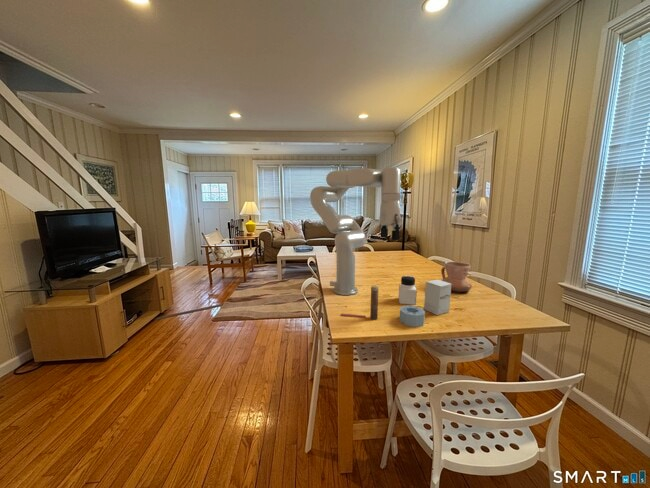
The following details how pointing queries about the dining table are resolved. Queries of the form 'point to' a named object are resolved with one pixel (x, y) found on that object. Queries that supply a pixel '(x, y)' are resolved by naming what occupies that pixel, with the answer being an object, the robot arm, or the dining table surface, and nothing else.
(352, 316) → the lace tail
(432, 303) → the supplement box
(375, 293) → the needle
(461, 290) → the ceramic jug
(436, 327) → the dining table surface
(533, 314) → the dining table surface
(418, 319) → the bead
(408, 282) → the medicine bottle
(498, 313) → the dining table surface
